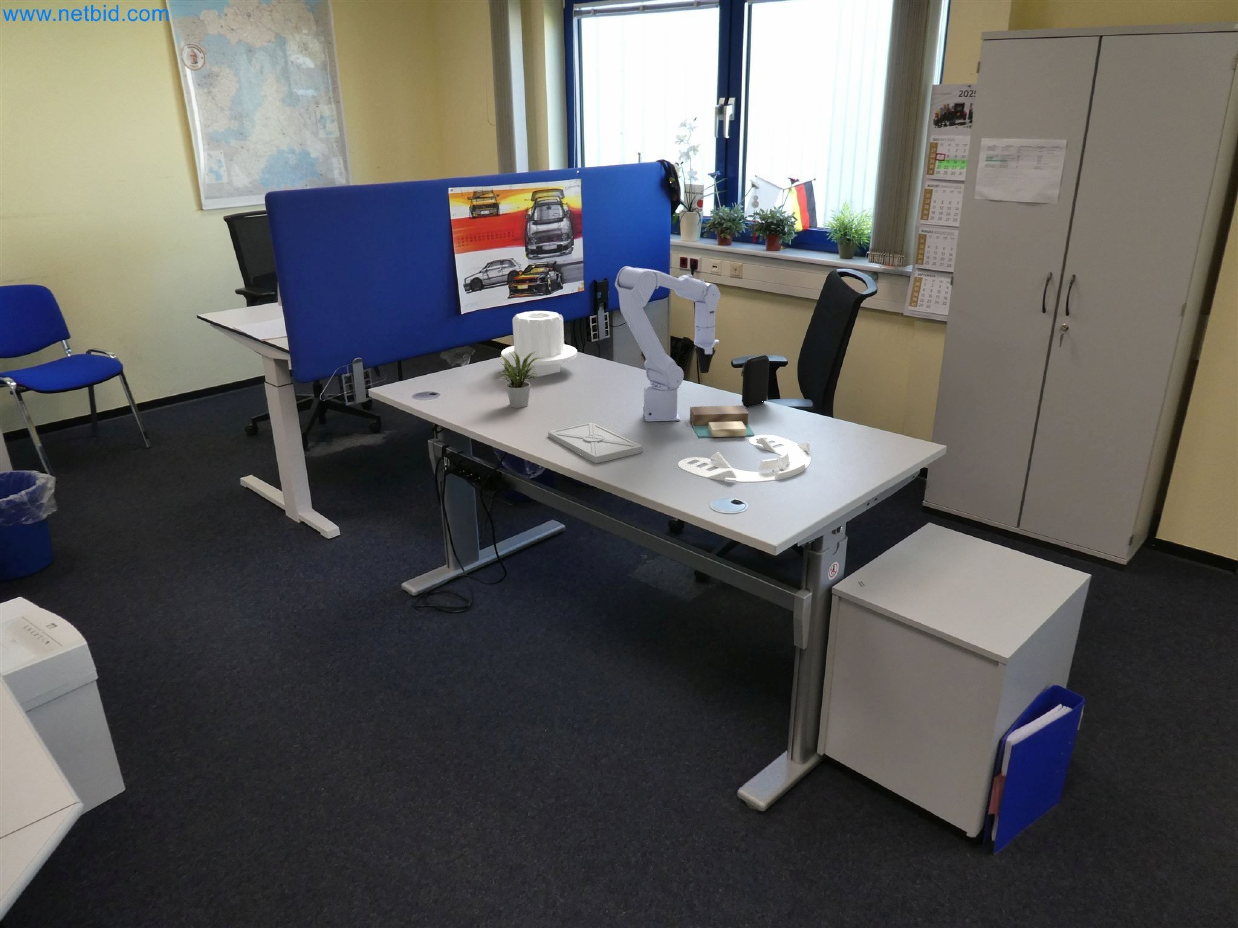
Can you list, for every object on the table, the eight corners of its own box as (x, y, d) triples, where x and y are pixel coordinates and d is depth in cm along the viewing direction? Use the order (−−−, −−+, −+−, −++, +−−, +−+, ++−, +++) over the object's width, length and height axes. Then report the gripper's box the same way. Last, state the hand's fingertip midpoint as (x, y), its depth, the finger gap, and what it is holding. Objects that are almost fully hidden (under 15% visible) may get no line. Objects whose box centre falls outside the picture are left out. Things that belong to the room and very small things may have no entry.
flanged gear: (549, 358, 303) (547, 304, 296) (592, 372, 285) (591, 316, 278) (488, 370, 288) (484, 314, 282) (530, 386, 271) (527, 327, 264)
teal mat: (698, 437, 226) (698, 436, 226) (693, 427, 233) (693, 426, 233) (754, 435, 227) (754, 434, 226) (748, 426, 234) (748, 424, 234)
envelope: (592, 429, 235) (548, 438, 228) (592, 421, 234) (547, 430, 227) (642, 453, 216) (596, 464, 209) (642, 444, 215) (595, 455, 208)
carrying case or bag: (744, 410, 246) (746, 361, 241) (736, 408, 249) (738, 358, 243) (769, 403, 252) (772, 354, 247) (761, 401, 255) (764, 352, 249)
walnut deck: (693, 426, 234) (693, 414, 232) (689, 418, 240) (690, 406, 239) (747, 425, 235) (748, 413, 233) (742, 417, 241) (743, 405, 240)
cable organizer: (766, 434, 229) (766, 422, 228) (839, 459, 212) (841, 446, 211) (669, 466, 208) (670, 453, 207) (742, 496, 191) (743, 482, 190)
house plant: (551, 398, 259) (549, 345, 253) (543, 412, 246) (541, 357, 240) (505, 397, 260) (502, 344, 254) (494, 411, 248) (491, 356, 242)
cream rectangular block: (708, 422, 230) (708, 429, 231) (712, 429, 224) (712, 436, 225) (741, 421, 230) (741, 428, 231) (746, 428, 225) (746, 435, 225)
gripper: (723, 331, 234) (722, 379, 240) (714, 319, 248) (713, 365, 253) (698, 332, 234) (697, 380, 239) (690, 320, 247) (690, 365, 253)
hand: (704, 372), depth 246 cm, fingers closed
